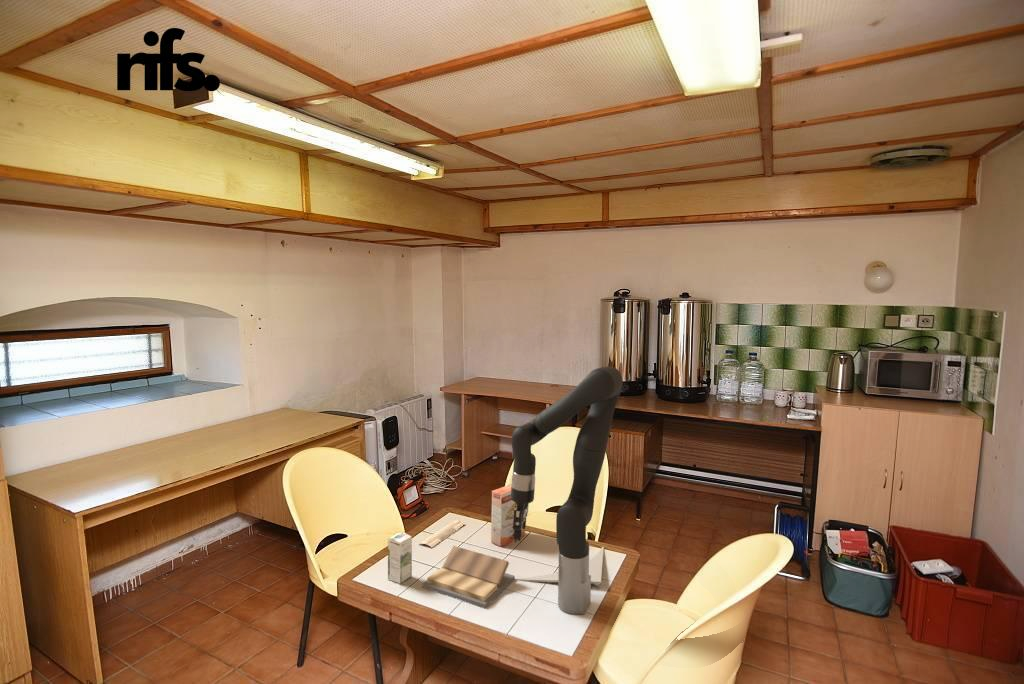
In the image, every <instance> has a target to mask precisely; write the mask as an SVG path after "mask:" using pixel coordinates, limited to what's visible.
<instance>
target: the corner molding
mask: <svg viewBox="0 0 1024 684" xmlns="http://www.w3.org/2000/svg"><path fill="white" fill-rule="evenodd" d="M604 550H605V549H604V546H602V547H601V548H600V550H599V551H598V552H597V553H596V554H595V555H594V556H592V557H591V558H589V575H591V584H592V585H595V586H600V584H602V577H603V563H604ZM558 573H559V571H558V572H553V573H548V574H542V575H535V576H527V577H526V576H524V577H515V579H514V580H513V581H519V582H520V581H521V582H537V583H538V582H540V583H558Z"/></svg>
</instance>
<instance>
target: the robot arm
mask: <svg viewBox="0 0 1024 684" xmlns="http://www.w3.org/2000/svg"><path fill="white" fill-rule="evenodd" d="M623 383H624V381H623V376H622V373H621V372H620V370H618V368H616V367H614V366H607V365H605V366H602V367H598V368H595V369H592V371H591V372H589V373H588V374H587V376H586V377H585V378H583V379H582V380H581V382H580V383H578V384H577V385H576V387H574V388H573V389H572V390H571V391H570V392H568V393H566V394H565V395H564V396H563V397H561V398H560V399H558V400H556V401H555V402H553V403H552V404H550V405H549V406H547V407H546V408H545V409H542V411H540V412H539V413H538V414H536V416H535V417H534V418H533V419H531V420H529V422H527V423H525V424H522V425H519V426H517V427H516V428H515V429H513V431H512V433H511V440H510V441H511V442H510V443H511V449H512V455H513V466H512V467H513V468H512V469H513V470H512V475H511V483H510V484H511V500H512V501H514V502H516V506H515V509H514V519H513V529H514V541H521V540H522V537H521V531H522V529H525V530H526V525H527V517H528V513H529V504H531V503H533V502H534V500H535V489H536V463H537V462H536V461H537V459H536V456H535V455H534V454H533V453H532V446H534V445H536V444H537V443H539V442H541V441H542V440H543V439H544V438H545V437H547V436H548V435H549V434H551V433H552V432H554V431H556V430H558V429H559V428H561V427H562V426H563V425H565V424H567V422H569V421H570V420H571V419H572V418H573V417H574V416H576V415H577V414H578V413H579V412H581V411H583V410H584V409H585V408H587V407H590V408H589V410H588V412H587V414H586V416H585V418H584V420H583V422H582V424H581V427H580V429H579V431H578V434H577V436H576V440H575V445H574V448H573V456H572V467H573V468H572V470H573V482H572V485H571V489H570V491H569V494H568V498H567V500H566V501H565V502H564V503H563V504H562V505H561V506H560V507H559V509H557V512H556V513H557V514H556V521H555V523H556V525H555V528H556V543H557V546H558V572H559V573H558V582H557V583H558V586H557V587H558V589H557V592H558V593H557V595H558V596H557V603H558V604H557V606H558V608H559V610H561V611H562V612H564V613H566V614H570V615H585V614H586V612H587V611H588V609H589V608H590V606H591V598H592V596H591V595H592V594H591V593H592V592H591V591H592V590H591V589H592V585H591V584H592V583H591V575H589V560H590V545H589V542H588V541H587V538H586V537H587V533H586V532H587V526H588V525H589V524H590V523H591V521H592V517H593V513H594V505H595V496H596V489H597V484H598V482H599V478H600V475H601V472H602V468H603V464H604V460H605V458H606V457H605V456H606V452H607V449H608V443H609V439H610V438H609V437H610V433H611V427H612V422H613V417H614V412H615V409H616V406H617V403H618V402H619V398H620V395H621V393H622V388H623V385H624V384H623ZM517 522H519V525H516V523H517Z"/></svg>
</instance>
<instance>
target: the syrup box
mask: <svg viewBox="0 0 1024 684" xmlns="http://www.w3.org/2000/svg"><path fill="white" fill-rule="evenodd" d="M412 542H413V538H412V535H409V534H407V533H403V532H398V533H396V534H394V535H392V536H391V537H389V538H387V580H389V581H391V582H394V583H396V582H397V584H399V585H401V584H402V583H404V582H406V581H407V580H408V579H410V578H411V577H412V575H413V574H412V573H413V572H412V571H413V568H412V567H413V566H412V564H413V562H412V561H413V560H412V555H413V550H412V549H413V543H412Z"/></svg>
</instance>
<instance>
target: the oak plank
mask: <svg viewBox="0 0 1024 684" xmlns="http://www.w3.org/2000/svg"><path fill="white" fill-rule="evenodd" d="M426 581H427V583H430V584H433V585H436V586H439V587H442V588H445V589H448V590H451V591H454V592H457V593H460V594H463V595H466V596H469V597H472V598H475V599H478V600H481V601H485V600H486V599H487V598H488V597H490V596H491V595H492V594H493V593H494V592H495V591H496V590H497V584H495V583H491V582H488V581H485V580H482V579H479V578H475V577H472V576H469V575H466V574H463V573H459V572H456V571H453V570H450V569H447V568H443V567H442V566H441V567H440V568H438V569H437V570H436V571H435V572H433V573H432V574H430V575H429V576H428V577H427V578H426Z"/></svg>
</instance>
